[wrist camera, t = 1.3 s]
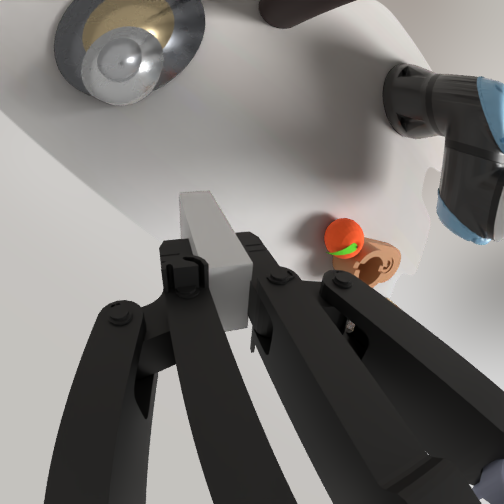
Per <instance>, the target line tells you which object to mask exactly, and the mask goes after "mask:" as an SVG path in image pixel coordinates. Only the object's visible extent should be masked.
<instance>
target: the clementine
mask: <svg viewBox="0 0 504 504" xmlns="http://www.w3.org/2000/svg"><path fill="white" fill-rule="evenodd" d="M324 242H325V245H326V248H327V249H328V251H329V252H330V253H328V254H331V255H334V256H335V257H337V258H341V259H348V258H351V257H354V256H355V255H357V254H358V253H359V252H360V250H361V249H362V246H363V243H364V234H363V231H362V229H361V227H360V226H359V225H358V224H357V223H356V222H355V221H353V220H351V219H347V218H341V219H337V220H335V221H333V222H332V223H331V224H330V225H329V226H328V227H327V229H326V232H325V236H324ZM326 253H327V252H326Z"/></svg>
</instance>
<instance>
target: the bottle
mask: <svg viewBox="0 0 504 504" xmlns="http://www.w3.org/2000/svg"><path fill="white" fill-rule="evenodd" d="M353 1H356V0H260V2H259V11H260V14H261V16H262V17H263V18H264V20H265V21H267V22H268V23H269V24H270V25H273V26H275V27H277V28H283V29H284V28H291V27H293V26H296V25H298V24H300V23H302V22H304V21H306V20H308V19H311V18H313V17H315V16H317V15H320V14H322V13H325V12H327V11H329V10H332V9H334V8H337V7H340V6H342V5H345V4H348V3H350V2H353Z"/></svg>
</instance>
